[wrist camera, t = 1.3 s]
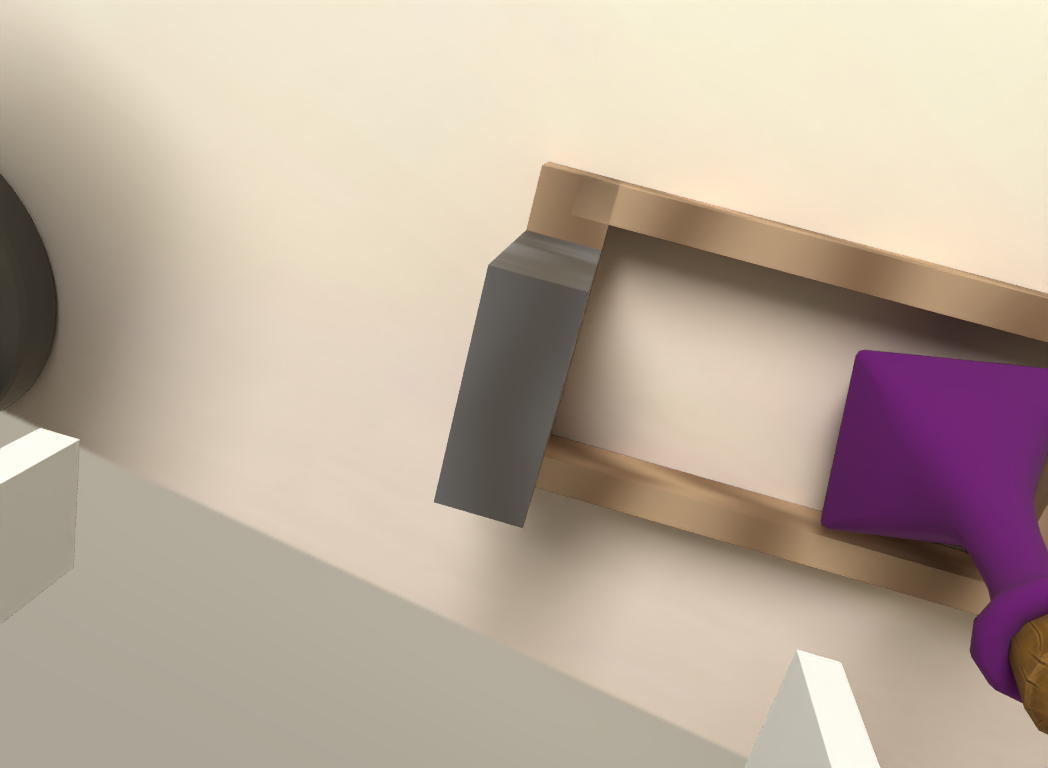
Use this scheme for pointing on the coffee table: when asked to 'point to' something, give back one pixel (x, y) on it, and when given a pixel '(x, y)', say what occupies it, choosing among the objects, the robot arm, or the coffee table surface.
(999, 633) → the perfume bottle
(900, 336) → the coffee table surface
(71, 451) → the robot arm
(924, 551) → the strip frame
